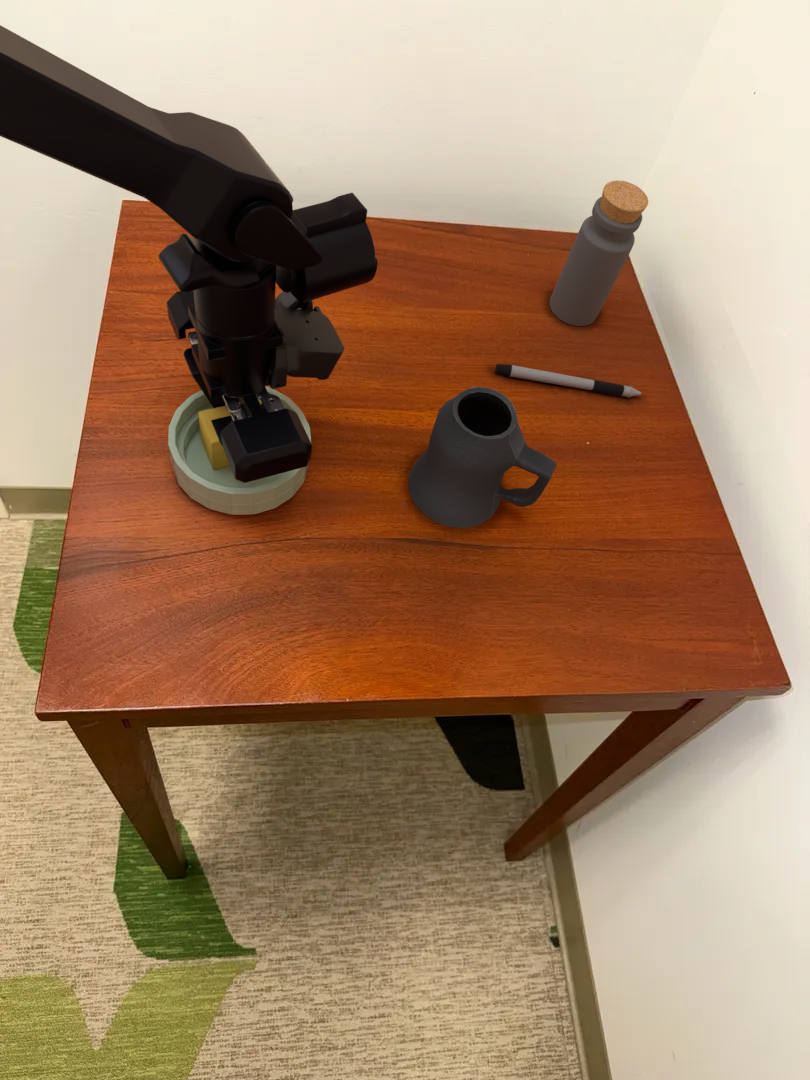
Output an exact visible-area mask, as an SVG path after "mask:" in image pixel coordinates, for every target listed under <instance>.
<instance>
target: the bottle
mask: <svg viewBox="0 0 810 1080" xmlns="http://www.w3.org/2000/svg"><path fill="white" fill-rule="evenodd" d="M647 195H648V194H646V192H645V191H644V190H643V189H642V188H640V187H639V186H637V185H636V184H634V183H631V182H628V181H625V180H611V181H608V182H607V183H606V184H605V185H604V186H603V189H602V193H601V196H600V197H599V198H597V199H596V201H595V203H594V204H593V207H592V209H591V215H590V216H588V217H587V218H585V219H584V220H583V222H582V224H581V226H580V228H579V230H578V233H577V234H576V237H575V239H574V242H573V244H572V246H571V248H570V250H569V253H568V255H567V258H566V260H565V262H564V265H563V267H562V269H561V272H560V274H559V276H558V279H557V280H556V281H557V282H556V284H555V286H554V289H553V291H552V293H551V296H550V298H549V308H550V310H551V313H552V314H553V315H554V316H555V317H556V318H557V319H558V320H560V321H561V322H563V323H565V324H568V325H569V326H574V327H586V326H588V325H591V324H593V323H594V322H595V320H596V319H597V318H598V316H599V315H600V312H601V310H602V308H603V306H604V305H605V303H606V300H607V298H608V296H609V295H610V293H611V291H612V289H613V287H614V285H615V283H616V281H617V279H618V277H619V275H620V273H621V271H622V269H623V267H624V266H625V263H626V261H627V260H628V257H629V255H630V254H631V251H632V250H633V247H634V245H635V239H636V238H635V234H634V233H636V232H637V231H638V229H639V227H640V226H641V224H642V221H643V212H644V211H645V210H646V208H647V207H648V205H649V199H648V198H649V197H648V196H647Z"/></svg>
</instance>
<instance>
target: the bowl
mask: <svg viewBox="0 0 810 1080" xmlns="http://www.w3.org/2000/svg"><path fill="white" fill-rule="evenodd" d="M265 387H266V389H267V391H268V393H269V394H274V395H277V396H278V397H279V398H280V400H281V402H282V404H283V406H284V409H286V408H287V409H289V410H291V411H293V412H296V413H297V414H298V416H299V419H300V421H301V423H302V425H303V427H304V429H305V431H306V433H307V435H308V437H309V440H310V442H311V443H312V436H311V435H312V434H311V426H310V424H309V422H308V420H307V417H306V416H305V414H304V412H303V410H302V409H301V408H300V407H299V406H298V405H297V404H296V403H295V402H294V401H293V400H292V399H291V398H290V397H288V396H287V395H285V394H283V393H281V392H280V391H278V390H276V389H271V387H270V386H265ZM256 398H257V397H256ZM208 409H213V406H212V405H211V403H210V402H209V400H208V399H207V397H206V396H205V394H204V393H203V391H202V390H201V389H200V390H199V391H197V392H195V393H193V394H191V395H190V396H188V397H187V398H186V399H185V400H184V401H183V402H182V403H181V404H180V405H179V406H178V407H177V408H176V410H175V412H174V413H173V415H172V418H171V420H170V423H169V424H168V435H167V446H168V452H169V453H168V454H169V458H170V464H171V469H172V471H173V474H174V477H175V480H176V482H177V484H178V486H179V487H180V488H181V489H182V490H183V491H184V492H185V493H186V495H188V497H189V498H190V499H192V500H193V501H195V502H196V503H199V504H200V505H202V506H203V507H205V508H207V509H210V510H212V511H216V512H219V513H224V514H227V515H232V516H234V515H237V516H238V515H239V516H240V515H257V514H260V513H264V512H267V511H270V510H274V509H276V508H278V507H280V506H281V505H283V504H284V503H286V502H287V501H289V500H290V499H292V498H293V497H294V496H295V494H296V493H297V491H298V490H300V488H301V487H302V485H303V484H304V483H305V480H306V477H307V474H308V472H309V468H310V463H311V460H310V461H309V463H308V465H307V467H303V468H299V469H295V470H292V471H288V472H284V473H280V474H277V475H273V476H269V477H266V478H262V479H258V480H254V481H251V482H247V483H244V482H241V481H239V480H236V479H235V477H234V474H233V472H232V470H231V467H230V466H227V467H223V468H219V469H215V470H213V469H212V466H211V464H210V461H209V459H208V456H207V454H206V451H205V449H204V446H203V444H202V441H201V436H200V425H199V414H198V412H200V411H204V410H208Z"/></svg>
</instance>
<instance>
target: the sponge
mask: <svg viewBox="0 0 810 1080" xmlns="http://www.w3.org/2000/svg"><path fill="white" fill-rule="evenodd" d="M259 402H260V404H261V400H259ZM239 404H240V402H239ZM198 414H199V425H200V436H201V441H202V444H203V446H204V449H205V451H206V454H207V456H208V459H209V461H210V464H211V466H212V469H213V470H215V469H219V468H223V467H227V466H230V465H229V462H228V460H227V458H226V455H225V452H224V448H223V447H222V445H221V444H220V441H219V439H218V437H217V434H216V432H215V429H214V427H213V425H212V422H211V420H214V419H218V418H222V417H226V416H231V414H230V413H229V411H228V409H227V406H222V407H217V408H213V409H208V410H204V411H200V412H198Z"/></svg>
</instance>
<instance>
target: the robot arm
mask: <svg viewBox="0 0 810 1080" xmlns="http://www.w3.org/2000/svg"><path fill="white" fill-rule="evenodd" d="M0 137H1V138H3V139H5V140H8V141H11V142H13V143H15V144H17V145H21V146H22V147H24V148H27V149H29V150H32V151H34V152H37V153H38V154H41V155H43V156H46V157H48V158H50V159H53V160H55V161H57V162H59V163H62V164H63V165H64V164H65V165H67V166H69V167H71V168H73V169H75V170H79V171H81V172H83V173H86V174H87V175H90V176H92V177H95V178H97V179H99V180H102V181H103V182H106V183H108V184H111V185H113V186H115V187H118V188H120V189H123V190H124V191H128V192H129V193H132V194H135V195H136V196H139V197H142V198H144V199H145V200H147V201H148V202H150V203H151V204H152V205H154V206H156V207H157V208H159V209H160V210H161V211H163V212H164V213H165V214H166V215H167V216H168V217H169V218H170V219H172V220H173V221H174V222H175V223H176V224H177V225H179V226H180V227H181V228H182V229H183V230H184V231H186V232H187V233H181V234H180V235H179V237H178V238H177V240H176V241H174V242H172V243H169V244H167V246H165V247H164V248H163V249H162V250H161V251H160V252H159V254H158V260H159V261H160V263H161V264H162V266H163V268H165V270H166V272H167V273H168V275H169V276H170V278H171V280H172V281H173V282H174V284H175V285H176V287H177V288H178V290H179V291H176V292H175V293H174V294H173V295H171V297H170V298H169V299H168V300H167V301H166V310H167V318H168V321H169V323H170V325H171V328H172V330H173V333H174V335H175V337H176V340H184V339H187V338H188V341H189V344H190V347H188V348H186V349H185V350H184V351H183V358H184V360H185V362H186V365H187V367H188V370H189V371H190V374H191V376H192V378H193V379H194V381H195V382H196V384H197V386H198V387H199V389H200V391H201V390H202V391H203V393H204V394H205V396H206V397H207V399H208V400H209V402H210V403H211V405H212V406H213V408H217V407H222V406H227V409H228V411H229V413H230V414H231V416H226V417H222V418H218V419H214V420H211V422H212V425H213V427H214V429H215V432H216V434H217V437H218V439H219V441H220V444H221V445H222V447H223V448H224V452H225V455H226V458H227V460H228V462H229V465H230V467H231V470H232V472H233V474H234V477H235V479H236V480H239V481H241V482H244V483H247V482H251V481H254V480H258V479H262V478H266V477H269V476H273V475H277V474H280V473H284V472H288V471H292V470H295V469H299V468H303V467H307V465H308V463H309V464H310V462H311V459H312V451H313V444H312V441H311V442H310V440H309V437H308V435H307V433H306V431H305V429H304V427H303V425H302V423H301V421H300V419H299V416H298V414H297V413H296V412H293V411H291V410H289V409H287V408H286V409H284V406H283V404H282V402H281V400H280V398H279V397H278V396H277V395H274V394H269V393H268V391H267V389H266V387H265V386H267V387H270V388H271V389H274V390H276V389H279V388H285V387H287V382H288V377H291V378H306V379H307V378H308V379H309V378H310V379H317V380H318V381H325V380H328V379H329V378H330V377H331V374H332V373H333V371H334V369H335V367H336V366H337V364H338V362H339V360H340V358H341V356H342V355H343V353H344V352H345V347H344V343H343V342H342V340H341V338H340V336H339V335H338V333H337V331H336V328H335V327H334V325H333V323H332V322H331V320H330V318H328V316H327V315H325V314H324V313H323V312H322V310H321V307H320V306H319V305H315V306H314V304H313V301H314V300H317V299H320V298H324V297H326V296H329V295H333V294H336V293H339V292H342V291H345V290H349V289H352V288H356V287H359V286H361V285H365V284H368V283H370V282H372V281H373V280H374V278H375V276H376V273H377V270H378V264H379V263H378V259H377V257H376V251H375V245H374V243H375V242H374V240H373V237H372V233H371V231H370V228H369V226H368V223H367V217H368V209H367V207H366V206H365V205H364V204H363V203H362V202H361V201H360V199H359V198H358V197H357V196H356V195H355V193H354V192H349V193H344V194H341V195H338V196H336V197H334V198H332V199H329V200H326V201H322V202H318V203H315V204H311V205H307V206H303V207H300V208H296V209H293V208H294V207H293V202H294V197H293V196H292V194H291V192H290V191H289V189H288V188H287V187H286V185H285V184H284V183H283V182H282V181H281V179H280V178H279V177H278V176H277V174H276V173H275V172H274V170H273V169H272V168H271V166H269V164H268V163H267V162H266V160H265V159H264V158H263V157H262V155H261V154H260V152H258V151H257V149H256V148H255V146H254V145H253V144H252V142H251V141H249V139H248V138H247V137H246V136H245V135H244V133H242V131H240V130H239V129H238V128H237V127H234V126H232V125H230V124H227V123H224V122H221V121H218V120H216V119H212V118H210V117H206V116H203V115H200V114H197V113H194V112H190V111H186V112H185V111H183V112H166V111H163V110H160V109H157V108H153V107H151V106H148V105H146V104H145V103H143V102H141V101H139V100H137V99H135V98H134V97H132V96H130V95H128V94H126V93H124V92H123V91H121V90H119V89H118V88H115V87H114V86H112V85H110V84H108V83H107V82H105V81H103V80H101V79H99V78H97V77H95V76H93V75H92V74H90V73H88V72H86V71H85V70H82V69H81V68H79V67H77V66H75V65H73V64H72V63H70V62H68V61H66V60H64V59H62V58H61V57H59V56H57V55H56V54H53V53H51V52H50V51H48V50H46V49H45V48H42V47H41V46H39V45H37V44H36V43H34V42H32V41H31V40H28V39H26V38H25V37H22V36H21V35H19V34H17V33H16V32H14V31H12V30H10V29H8V28H6V27H4V26H3V25H1V24H0ZM188 234H189V235H188ZM276 285H277V287H278V288H279V289H280V291H282V292H281V293H280V294H278V295H277V296H276ZM193 329H194V331H190V332H188V333H187V330H193ZM256 397H257V398H256ZM259 400H261V404H260V402H259ZM239 402H240V404H239ZM309 461H310V462H309Z"/></svg>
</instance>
